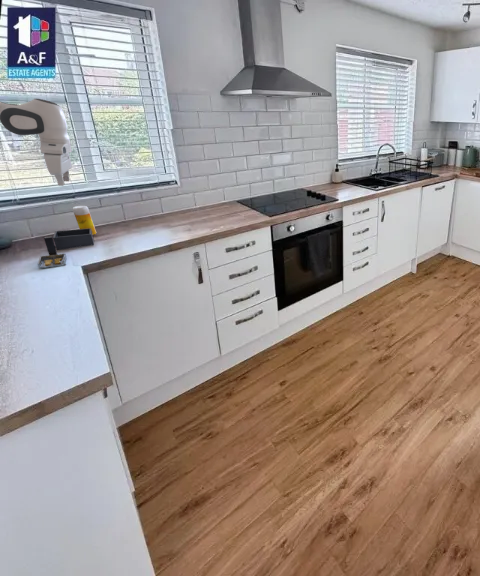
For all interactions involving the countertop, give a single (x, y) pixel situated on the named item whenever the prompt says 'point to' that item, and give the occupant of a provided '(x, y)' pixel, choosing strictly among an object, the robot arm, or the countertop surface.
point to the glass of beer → (84, 218)
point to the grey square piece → (51, 255)
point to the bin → (73, 238)
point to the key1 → (48, 262)
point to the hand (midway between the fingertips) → (64, 183)
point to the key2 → (57, 260)
